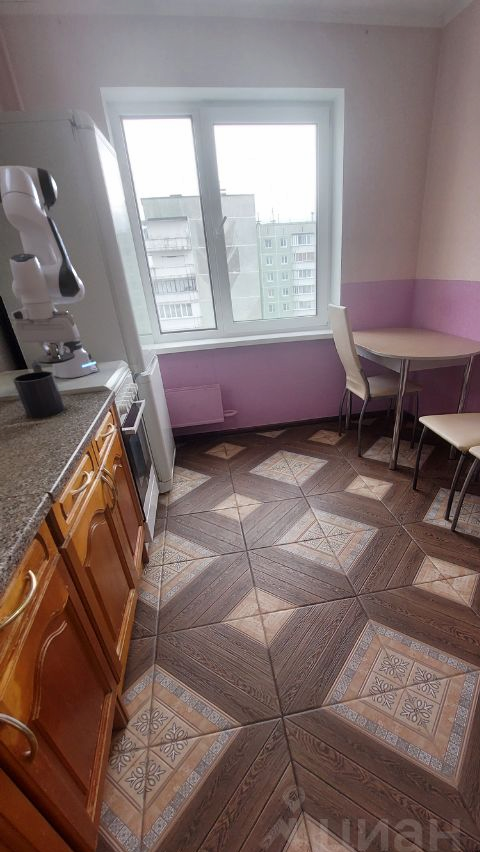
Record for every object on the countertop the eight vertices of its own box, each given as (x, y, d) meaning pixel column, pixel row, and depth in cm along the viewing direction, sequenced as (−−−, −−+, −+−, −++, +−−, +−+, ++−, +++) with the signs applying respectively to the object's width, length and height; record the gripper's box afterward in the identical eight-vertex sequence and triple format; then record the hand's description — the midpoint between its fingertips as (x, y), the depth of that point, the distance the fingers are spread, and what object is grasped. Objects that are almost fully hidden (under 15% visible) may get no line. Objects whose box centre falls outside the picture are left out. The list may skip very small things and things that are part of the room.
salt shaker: (46, 393, 145) (35, 362, 139) (33, 393, 146) (21, 361, 140) (57, 388, 150) (46, 357, 144) (44, 388, 151) (33, 357, 145)
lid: (41, 358, 136) (36, 343, 134) (77, 354, 139) (73, 339, 136) (33, 367, 126) (28, 351, 124) (73, 363, 129) (68, 347, 126)
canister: (32, 410, 130) (18, 373, 124) (67, 405, 133) (55, 369, 126) (24, 422, 121) (8, 383, 115) (61, 417, 124) (48, 379, 117)
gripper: (76, 309, 126) (88, 352, 134) (17, 310, 128) (32, 352, 135) (66, 312, 121) (79, 356, 128) (5, 314, 122) (22, 357, 130)
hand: (55, 354), depth 132 cm, fingers closed on lid, 2 cm apart
